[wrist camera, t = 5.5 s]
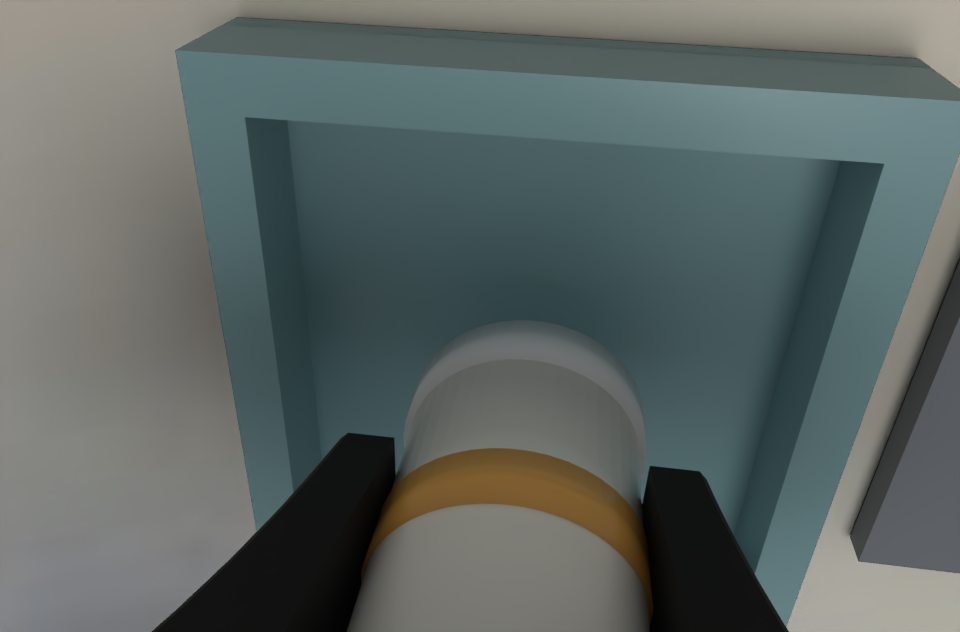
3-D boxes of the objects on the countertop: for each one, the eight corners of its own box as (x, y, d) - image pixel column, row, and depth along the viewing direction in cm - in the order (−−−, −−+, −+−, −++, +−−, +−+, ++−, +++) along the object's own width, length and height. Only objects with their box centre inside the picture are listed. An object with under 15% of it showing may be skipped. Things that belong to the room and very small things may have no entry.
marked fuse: (563, 532, 13) (539, 985, 8) (378, 438, 12) (223, 861, 7) (692, 394, 11) (766, 863, 6) (483, 278, 11) (376, 687, 6)
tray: (918, 58, 11) (978, 103, 9) (759, 562, 16) (777, 649, 14) (236, 16, 12) (175, 49, 10) (298, 507, 17) (265, 583, 15)
